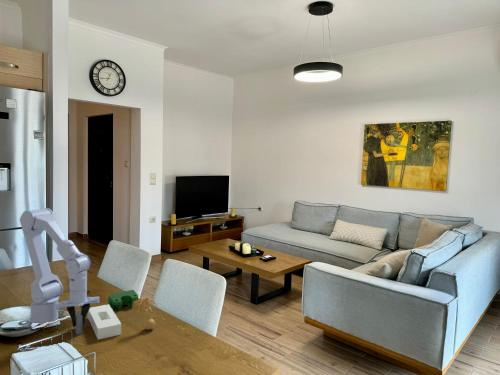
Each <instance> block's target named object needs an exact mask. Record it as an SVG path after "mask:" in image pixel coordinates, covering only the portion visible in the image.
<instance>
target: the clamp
mask: <svg viewBox="0 0 500 375" xmlns="http://www.w3.org/2000/svg"><path fill="white" fill-rule="evenodd" d="M137 300H139V294H138V293H137V292H136V291H135V290H134V289H129V290H125V291H122V292H117V293H113V294H109V295H108V299H107V305H108V304H109V305H110V307H111V308H112V309H116V308H117V309H118V310H119V311H122V307H123V306H126V305H127V306H129V307H130V308H133V304H134V302H135V301H137Z"/></svg>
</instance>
